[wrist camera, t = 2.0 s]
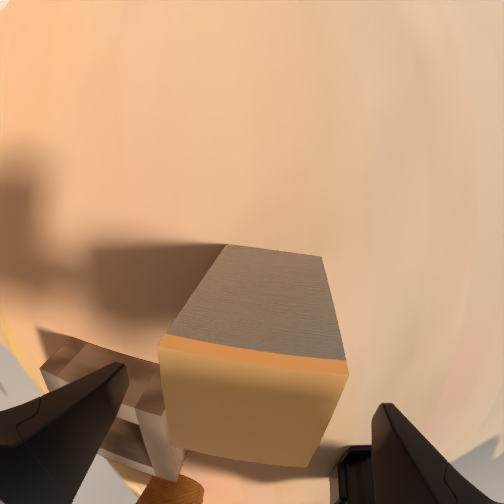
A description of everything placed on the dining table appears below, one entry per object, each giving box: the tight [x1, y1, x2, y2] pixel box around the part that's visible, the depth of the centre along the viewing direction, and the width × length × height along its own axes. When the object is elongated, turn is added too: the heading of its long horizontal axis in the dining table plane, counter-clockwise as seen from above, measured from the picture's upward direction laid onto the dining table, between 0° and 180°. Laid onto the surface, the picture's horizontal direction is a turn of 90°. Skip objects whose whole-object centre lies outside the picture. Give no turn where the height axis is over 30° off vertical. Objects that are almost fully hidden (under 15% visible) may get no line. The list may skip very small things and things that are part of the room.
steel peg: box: [157, 244, 349, 468], centre depth 12 cm, size 5×5×9 cm
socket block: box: [40, 337, 188, 482], centre depth 19 cm, size 10×10×4 cm
